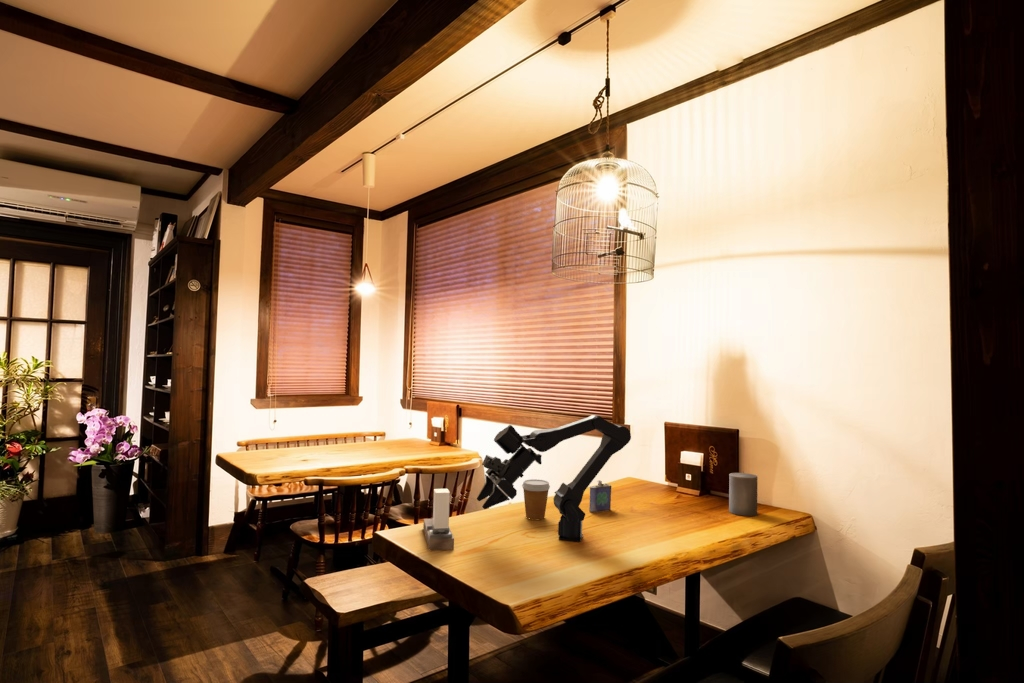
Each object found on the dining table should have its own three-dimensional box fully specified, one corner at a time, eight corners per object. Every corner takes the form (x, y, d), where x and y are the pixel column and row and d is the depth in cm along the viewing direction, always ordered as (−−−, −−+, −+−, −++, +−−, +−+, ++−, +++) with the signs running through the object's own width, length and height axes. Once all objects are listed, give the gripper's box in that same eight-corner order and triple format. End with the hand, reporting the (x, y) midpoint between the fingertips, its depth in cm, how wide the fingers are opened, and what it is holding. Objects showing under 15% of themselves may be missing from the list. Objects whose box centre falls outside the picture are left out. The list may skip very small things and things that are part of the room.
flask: (592, 513, 202) (592, 482, 202) (586, 511, 204) (587, 481, 205) (612, 510, 206) (613, 480, 207) (607, 508, 209) (607, 479, 209)
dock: (445, 527, 179) (445, 514, 180) (453, 549, 159) (454, 534, 159) (423, 528, 178) (423, 515, 178) (429, 550, 158) (429, 535, 158)
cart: (447, 529, 167) (448, 488, 167) (449, 535, 162) (451, 492, 162) (431, 530, 166) (432, 488, 166) (432, 536, 161) (434, 493, 161)
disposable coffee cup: (547, 522, 188) (548, 486, 189) (518, 520, 190) (519, 483, 191) (551, 515, 198) (551, 480, 198) (523, 512, 200) (524, 478, 200)
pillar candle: (763, 516, 204) (763, 473, 205) (739, 516, 202) (740, 474, 203) (745, 509, 214) (746, 468, 214) (723, 510, 211) (723, 469, 212)
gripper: (492, 441, 177) (456, 478, 175) (505, 450, 159) (466, 492, 156) (517, 465, 179) (482, 503, 176) (532, 478, 161) (494, 520, 158)
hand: (480, 504), depth 167 cm, fingers open, 9 cm apart
